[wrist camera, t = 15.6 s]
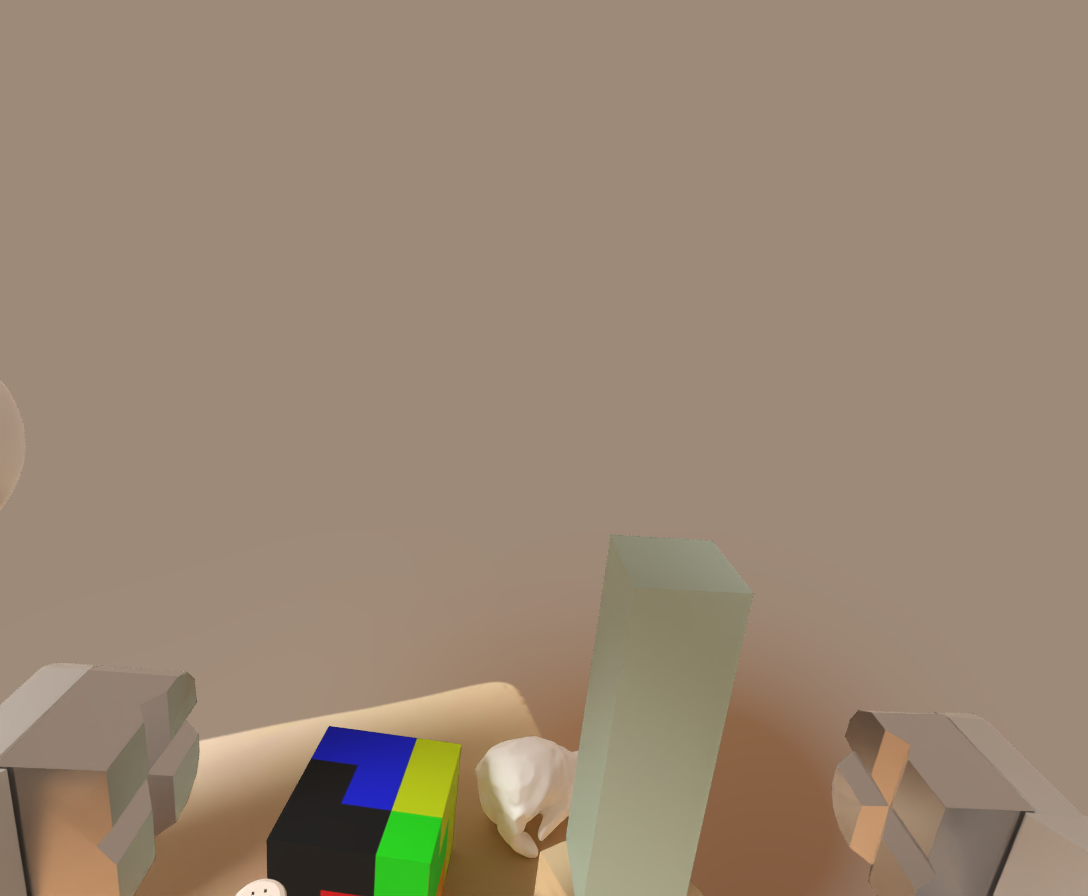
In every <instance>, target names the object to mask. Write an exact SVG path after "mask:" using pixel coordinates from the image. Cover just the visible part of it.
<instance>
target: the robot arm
mask: <svg viewBox="0 0 1088 896" xmlns="http://www.w3.org/2000/svg"><path fill="white" fill-rule="evenodd" d="M24 458H25V432H24V426H23V421H22V418H21V415H20V412H19V410H18V407H17V405H16V402H15V401H14V399H13V397H12V395H11V394H10V392H9V391H8V389H7V387H6V386H5V385H4V383H3V382H2V381H1V380H0V510H1V508H2V507H3V506H4V504H5V503H6V502H7V500H8V499H9V497H10V495H11V493H12V492H13V490H14V488H15V486H16V484H17V482H18V479H19V477H20V474H21V471H22V467H23V463H24ZM196 703H197V699H196V689H195V679H194V678H193V677H192V676H191V675H190V674H189V673H188V672H180V671H167V670H153V669H141V668H128V667H115V666H95V665H84V664H68V663H54V664H51V665H47V666H44V667H42V668H40V669H39V670H38V671H37V672H36V673H35V674H34V675H33V676H32V677H30V678H29V679H28V680H27V681H26V682H25V683H24V684H23V685H22V686H20V687H19V688H18V689H17V690H16V691H15V692H14V693H13V694H12V695H11V696H10V697H8V698H7V699H6V700H5V701H4V702H3V703H2V704H1V705H0V896H134V894H135V892H136V891H137V889H138V887H139V886H140V884H141V882H142V880H143V879H144V877H145V875H146V873H147V872H148V870H149V868H150V867H151V865H152V863H153V861H154V860H155V858H156V855H155V841H154V837H155V836H156V835H158V834H159V833H161V832H162V831H164V830H165V829H166V828H168V827H169V826H171V825H172V824H174V823H175V822H176V821H177V819H178V817H179V816H180V814H181V812H182V810H183V808H184V806H185V805H186V803H187V801H188V799H189V795H190V792H191V789H192V786H193V783H194V780H195V777H196V774H197V768H198V760H199V734H198V733H197V732H196V731H195V729H194V728H193V727H192V726H191V725H190V724H189V723H188V721H187V720H186V718H187V717H188V715H189V714H190V712H191V711H192V709H193V708H194V706H195V705H196ZM845 737H846V739H847V741H848V743H849V745H850V747H851V749H852V752H851V753H850V754H848V755H847V756H846V757H845V758H844V759H843V760H842V761H841V762H840V763H838V764H837V766H836V770H835V774H834V779H833V783H832V787H831V788H832V801H833V811H834V814H835V817H836V820H837V824H838V827H839V829H840V831H841V833H842V835H843V837H844V838H845V840H846V842H847V844H848V846H849V848H851V849H852V850H853V851H855V852H856V853H857V854H858V855H860V856H861V857H862V858H863V859H865V860H866V861H867V862H868V863H870V864H871V869H870V875H869V881H868V882H869V883H870V885H871V887H872V888H873V890H874V892H875V894H876V896H1088V816H1084V815H1082V814H1081V813H1080V812H1079V811H1078V810H1077V809H1076V808H1074V806H1073V805H1072V804H1071V803H1070V802H1069V801H1068V800H1067V799H1066V798H1065V797H1064V796H1063V795H1061V793H1059V792H1058V791H1057V790H1056V789H1055V788H1054V787H1053V786H1052V785H1051V784H1050V783H1049V782H1048V781H1047V780H1046V779H1045V778H1044V777H1043V776H1042V775H1041V774H1040V773H1039V772H1038V771H1037V770H1036V769H1035V768H1034V767H1033V766H1032V765H1031V764H1030V763H1029V762H1028V761H1027V760H1026V759H1025V758H1024V757H1023V756H1022V755H1021V754H1020V753H1019V752H1018V751H1017V750H1016V749H1015V748H1014V747H1013V746H1012V745H1011V744H1010V743H1009V742H1008V741H1007V740H1006V739H1005V738H1004V737H1003V736H1002V735H1001V734H1000V733H999V732H998V731H997V730H996V729H995V728H994V727H993V726H992V725H991V724H990V723H989V722H988V721H987V720H985V719H983V718H981V717H979V716H977V715H975V714H973V713H937V712H935V713H933V714H927V713H909V712H908V713H907V712H888V711H868V710H858V711H857V712H856V713H855V714H854V716H853V717H852V718H851V719H850V722H849V725H848V728H847V731H846V734H845Z"/></svg>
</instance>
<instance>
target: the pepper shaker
mask: <svg viewBox="0 0 1088 896" xmlns="http://www.w3.org/2000/svg"><path fill="white" fill-rule="evenodd" d="M235 896H287V894H286V890H285V888H284V886H283V885H282V884H281V883H280V882H278V881H276V880H272V879H260V880H256V881H253V882H251V883H249V884H247V885H246V886H245V887H243V888H242V889H241V890H240V891H239V892H238V893H237V894H236V895H235Z"/></svg>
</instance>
